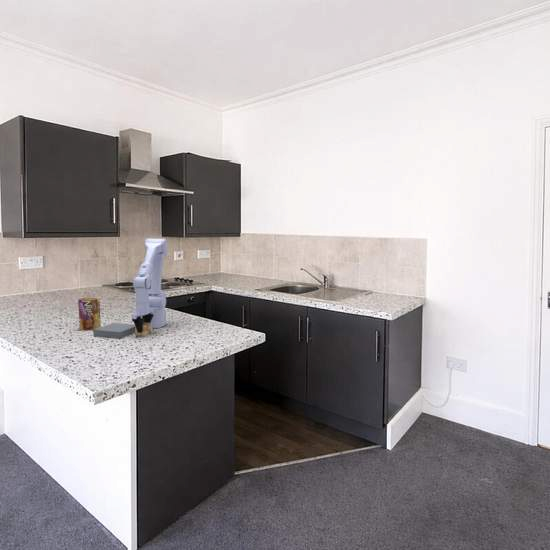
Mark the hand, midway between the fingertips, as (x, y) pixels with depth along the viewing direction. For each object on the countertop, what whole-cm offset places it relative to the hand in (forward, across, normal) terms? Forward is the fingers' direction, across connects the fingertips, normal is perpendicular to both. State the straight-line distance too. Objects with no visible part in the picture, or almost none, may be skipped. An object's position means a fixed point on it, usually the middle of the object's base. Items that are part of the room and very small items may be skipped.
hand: (143, 331), depth 182 cm
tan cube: (+2, 0, 0) cm, 2 cm away
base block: (+1, +3, -12) cm, 12 cm away
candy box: (+2, -1, -30) cm, 30 cm away
